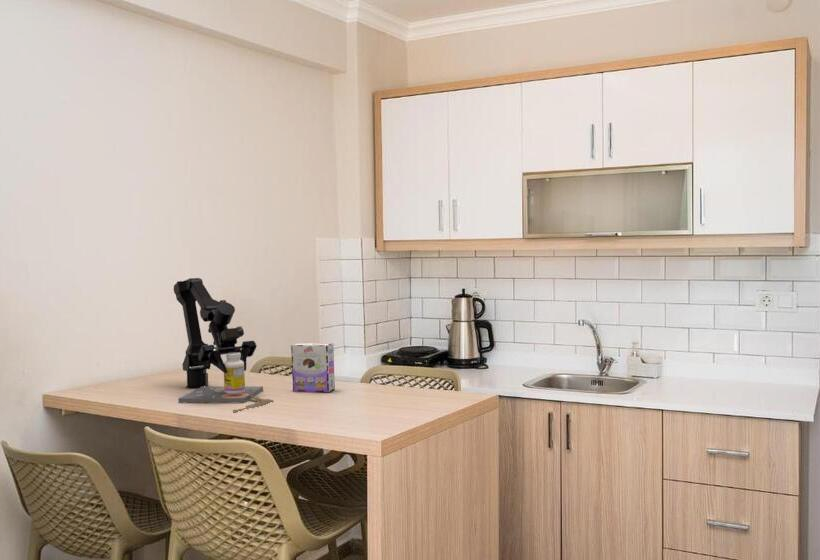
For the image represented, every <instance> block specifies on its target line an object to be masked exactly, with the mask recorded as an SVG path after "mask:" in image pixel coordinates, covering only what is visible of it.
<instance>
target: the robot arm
mask: <svg viewBox="0 0 820 560" xmlns="http://www.w3.org/2000/svg"><path fill="white" fill-rule="evenodd" d="M173 293H174V294H175V298H176V300H177V302H178V303H179V304H180V305H181V306H182V311H183V317H184V322H185V329H186V335H187V341H188V346H187V348H186V350H185V357H184V359H183V363H182V371H185V372H186V386H185V387H204V386H205V387H207V386H209V385H208V384H209V373H208V372H207V370H211V365H213V366H215V367H216V368H217V369H218V370H219V371H221V372H222V373H223V374H224V373H226V372H227V371H226V367H225V365H224V363H225V362H224V361H223V358H222V355H226V354H227V353H234V352H238V353H241V358H240V360H242V361H243V362H244V372H246V370H247V358H251V357H252V356H253V355H254V354H255V351H256V348H257V344H256V342H255V340H245V341H242V343H241V345H239V346H236V344H238V339H240V338H241V337H243V336H244V334H245V332H244V328H243V327H242V326H236V327H230V328H228V325H229V324H230V323H231V321H232V318H233V316H234V313H235V311H236V308H235V306H234V305H233V304H231V303H229V302H227V301H226V299H222V300H221V299H220V300H219V301H218V300H216V299H213V297H212V296H211V294H210V293H209V290H208V289H207V288H206V286H205V285H204V282H203V279H202V278H200V277H193V278H192V277H191V278H187V279H186V280H179V281H177V282H176V283H175V284H174V285H173ZM196 303H197V304H198V306H199V307H200V310H199V315H200V319H202V321H203V322H205V323H207V322H209V324H208V330H207V332H208V333H209V334H210V333H211V336H212V338H213V343H212V344H208V343H205V341H203V339H202V331H201V327H200V321H199V315H198V310H197V304H196ZM206 385H207V386H206Z"/></svg>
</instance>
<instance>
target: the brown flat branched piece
mask: <svg viewBox="0 0 820 560" xmlns="http://www.w3.org/2000/svg"><path fill="white" fill-rule="evenodd" d="M249 397H251V399H253V400H254V401H256V402H254V403H251V404H248V405H245V407H243V408H238V409H233V410H232V413H239V412H238V411H240V412H243V411H245V410H244V409H247V410H250V409H249V408H252V409H256V408H255V407H257V408H260V407H259V406H261V407H264V406H267V405H269V404H271V403H270V402H272V403H274V402H273V401H274V399H268V398H266V399H265V398H260V397H259V396H257V395H256V396H251V395H250V396H249ZM268 403H269V404H268ZM266 404H267V405H266ZM263 405H264V406H263ZM242 410H243V411H242ZM234 411H235V412H234Z"/></svg>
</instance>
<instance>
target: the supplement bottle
mask: <svg viewBox="0 0 820 560" xmlns="http://www.w3.org/2000/svg"><path fill="white" fill-rule="evenodd" d="M225 357H226V361H224V362H223V363H224V365H225V367H226V371H227V372H226V373H224V372H223V382H224V383H223V385H224V386H223V387H224V389H225V392H226V393H228V394H237V393H242V392H244V391H245V387H246V378H245V376H246V375H245V371H244V362H243V361H242V360H240V358H241V353H238V352H234V353H227V354H225Z"/></svg>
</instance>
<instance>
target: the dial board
mask: <svg viewBox="0 0 820 560" xmlns="http://www.w3.org/2000/svg"><path fill="white" fill-rule="evenodd" d="M260 392H261V393H262V392H264V386H245V391H244V392H242V393H237V394H228V393H226V392H225V389H224V386H205V387H200V388H195V390H193V391H190V392H189V393H186V394H184V395H183V396H180V397H179V398H177V399H178V403H179V402H242V403H241V404H245V403H246V402H248V401H250V400H251V399H252V398H251V397H249V396H250V395H251V396H254V397H256V396H257V395H259V394H261V393H260ZM255 395H256V396H255ZM250 398H251V399H250ZM249 399H250V400H249ZM247 400H248V401H247ZM244 402H245V403H244Z"/></svg>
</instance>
